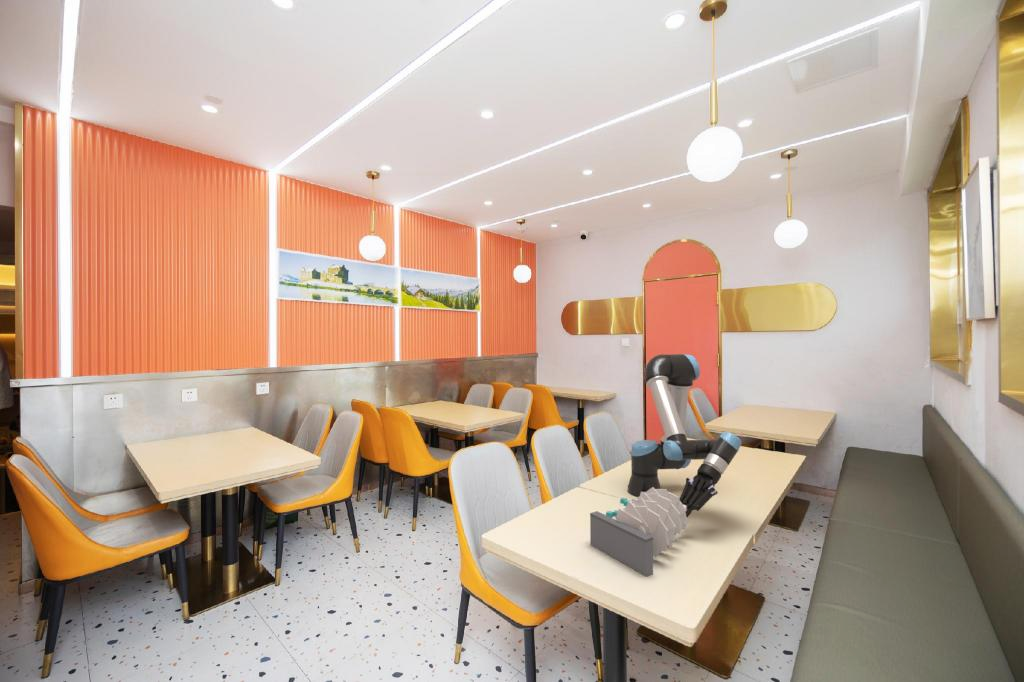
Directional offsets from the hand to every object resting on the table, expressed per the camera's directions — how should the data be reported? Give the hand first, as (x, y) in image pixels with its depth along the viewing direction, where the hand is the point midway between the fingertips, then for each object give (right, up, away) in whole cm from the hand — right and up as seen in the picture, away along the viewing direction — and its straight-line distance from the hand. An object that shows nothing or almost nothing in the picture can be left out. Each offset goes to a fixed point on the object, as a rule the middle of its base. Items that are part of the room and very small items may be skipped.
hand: (677, 522), depth 151 cm
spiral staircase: (-9, -5, -6) cm, 12 cm away
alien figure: (-7, -7, +23) cm, 25 cm away
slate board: (-24, -6, -14) cm, 28 cm away
